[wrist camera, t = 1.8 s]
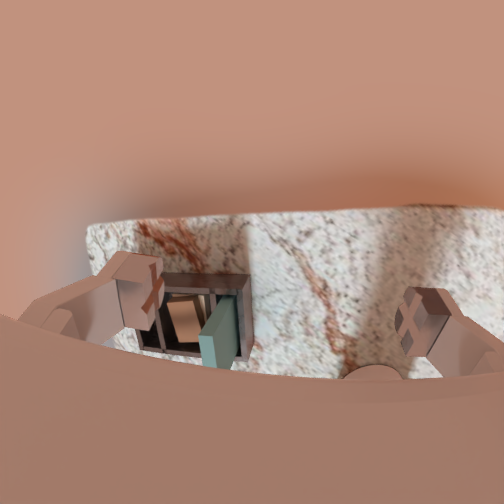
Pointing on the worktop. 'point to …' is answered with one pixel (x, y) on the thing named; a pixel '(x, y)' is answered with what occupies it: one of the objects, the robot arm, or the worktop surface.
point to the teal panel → (221, 335)
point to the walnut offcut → (186, 317)
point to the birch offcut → (203, 302)
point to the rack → (216, 286)
